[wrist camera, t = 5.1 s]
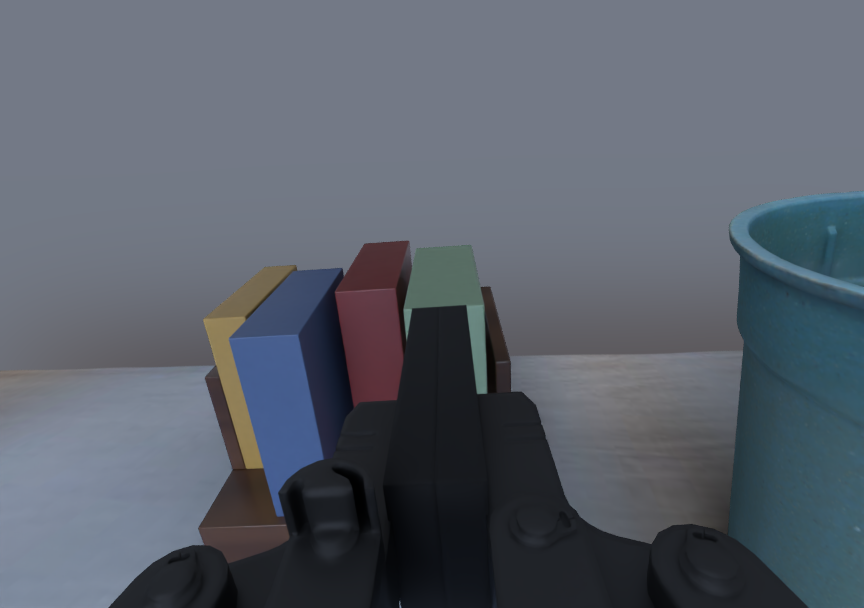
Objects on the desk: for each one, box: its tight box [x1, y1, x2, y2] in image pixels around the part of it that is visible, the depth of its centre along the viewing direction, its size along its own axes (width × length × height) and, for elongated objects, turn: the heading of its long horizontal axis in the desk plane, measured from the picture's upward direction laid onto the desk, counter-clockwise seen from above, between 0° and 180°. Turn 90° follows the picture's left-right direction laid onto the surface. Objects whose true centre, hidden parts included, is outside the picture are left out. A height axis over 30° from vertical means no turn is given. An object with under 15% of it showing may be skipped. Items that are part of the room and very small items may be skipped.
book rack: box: [198, 287, 511, 563], centre depth 28 cm, size 15×16×9 cm
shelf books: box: [203, 241, 412, 469], centre depth 28 cm, size 9×10×10 cm
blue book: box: [229, 268, 354, 517], centre depth 25 cm, size 9×3×10 cm, turn 179°
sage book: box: [403, 245, 487, 394], centre depth 24 cm, size 9×3×11 cm, turn 179°
